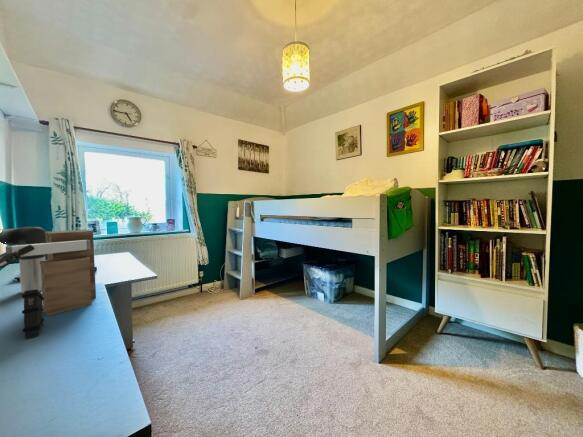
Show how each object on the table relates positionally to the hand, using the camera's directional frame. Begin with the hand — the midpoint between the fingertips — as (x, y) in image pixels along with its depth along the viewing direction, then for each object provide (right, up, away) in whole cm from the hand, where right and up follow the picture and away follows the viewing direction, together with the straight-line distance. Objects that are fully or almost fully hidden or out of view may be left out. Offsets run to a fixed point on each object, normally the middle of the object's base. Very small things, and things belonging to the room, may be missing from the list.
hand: (31, 246), depth 94 cm
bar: (+3, -3, +5) cm, 7 cm away
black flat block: (+12, -28, -10) cm, 32 cm away
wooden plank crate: (+2, -27, +15) cm, 31 cm away
